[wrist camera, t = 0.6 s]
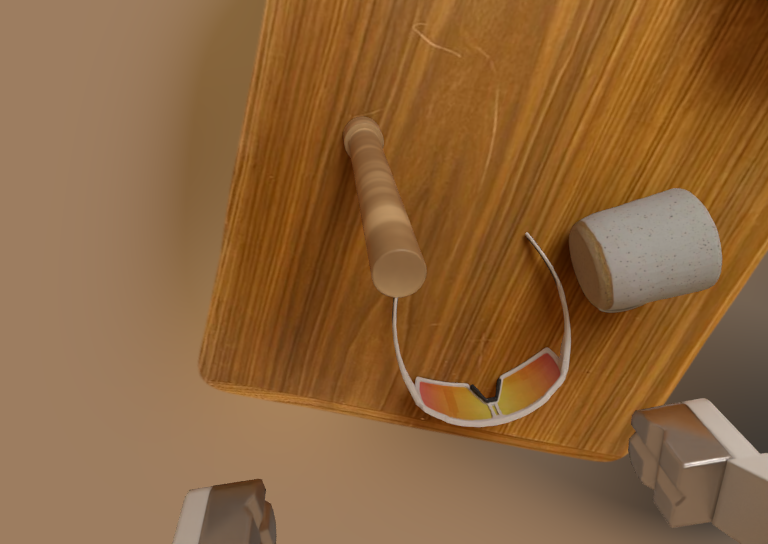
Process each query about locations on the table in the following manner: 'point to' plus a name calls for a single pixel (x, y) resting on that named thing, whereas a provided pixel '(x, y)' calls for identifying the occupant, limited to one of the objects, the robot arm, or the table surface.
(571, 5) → the table surface
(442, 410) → the sunglasses
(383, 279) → the stir stick
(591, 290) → the ceramic mug
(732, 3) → the table surface
